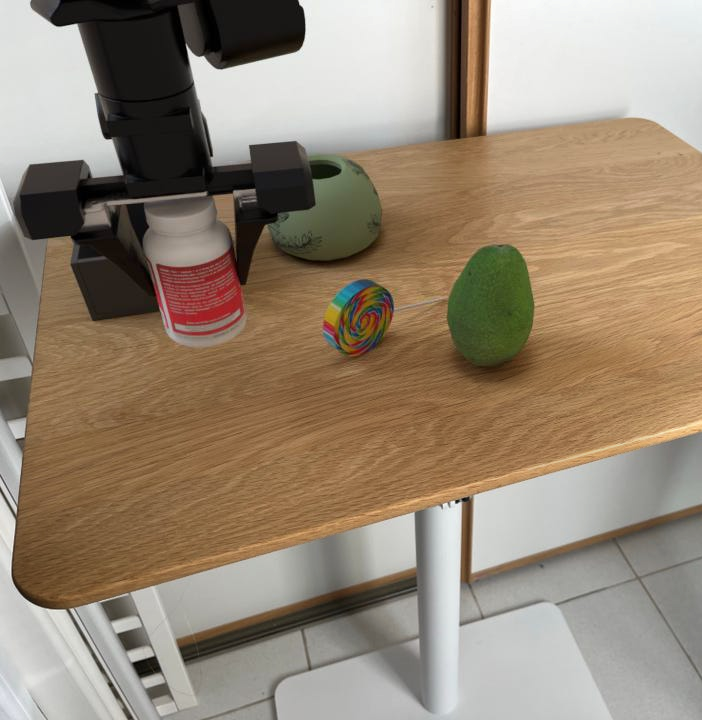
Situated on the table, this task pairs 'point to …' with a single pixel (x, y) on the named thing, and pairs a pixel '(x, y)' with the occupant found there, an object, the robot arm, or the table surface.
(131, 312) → the bin
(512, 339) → the fruit
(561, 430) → the table surface
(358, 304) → the lollipop
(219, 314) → the pill bottle
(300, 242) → the green rounded hollow pot
